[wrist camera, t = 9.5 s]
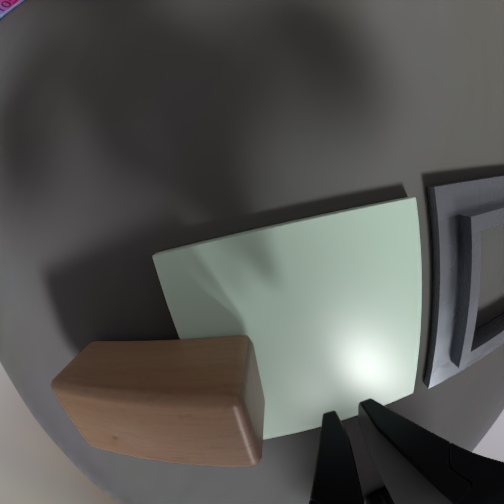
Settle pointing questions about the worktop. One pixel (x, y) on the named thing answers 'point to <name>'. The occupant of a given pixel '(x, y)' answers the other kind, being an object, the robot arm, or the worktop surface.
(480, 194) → the socket
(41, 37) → the worktop surface
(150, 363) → the wooden block
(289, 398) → the pad
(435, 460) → the robot arm
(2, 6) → the ink cartridge box
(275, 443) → the worktop surface
